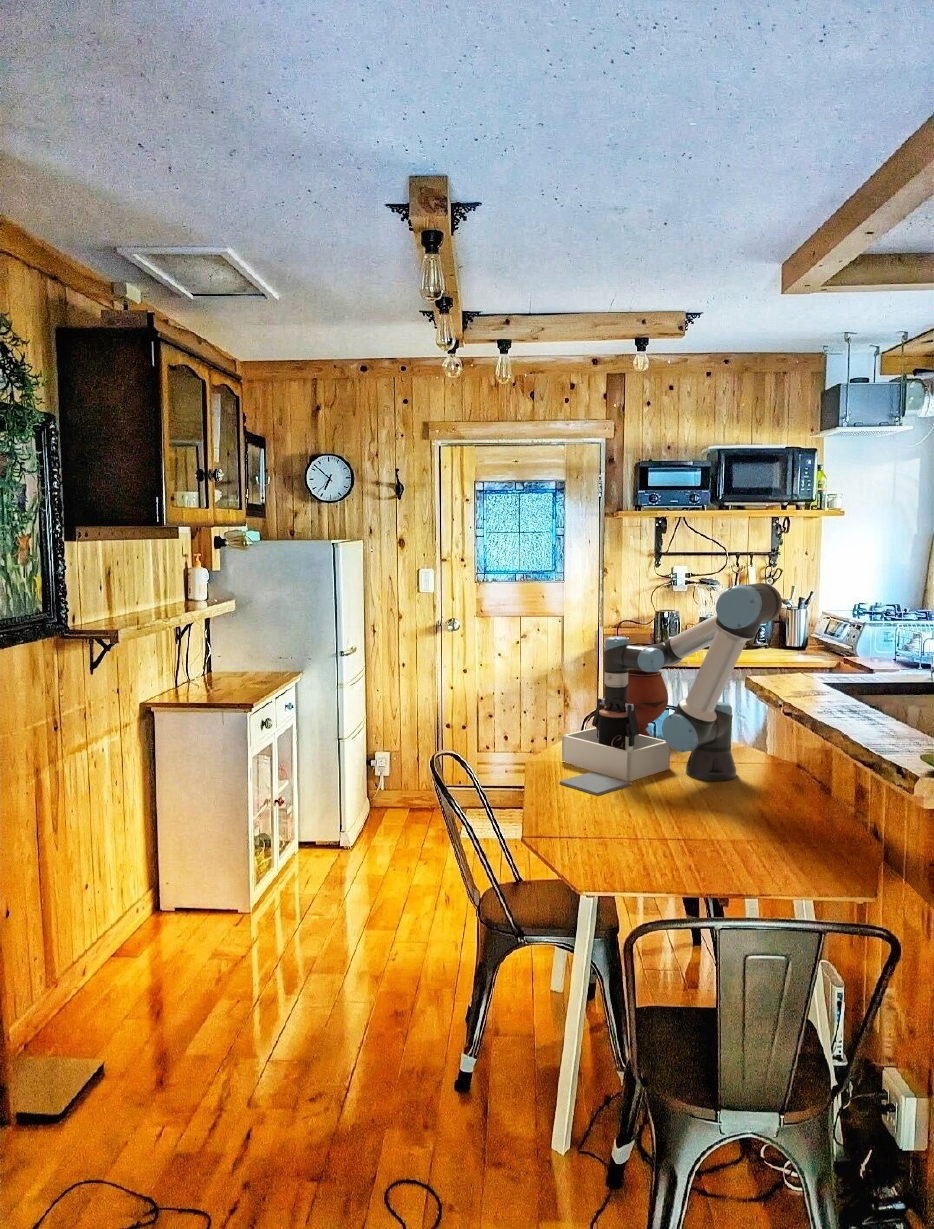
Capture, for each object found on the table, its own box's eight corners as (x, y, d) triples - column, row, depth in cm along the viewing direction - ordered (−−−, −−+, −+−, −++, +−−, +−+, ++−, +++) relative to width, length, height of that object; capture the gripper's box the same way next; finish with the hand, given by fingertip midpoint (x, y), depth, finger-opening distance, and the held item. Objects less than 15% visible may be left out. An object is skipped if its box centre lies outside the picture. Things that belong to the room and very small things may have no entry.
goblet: (676, 744, 310) (678, 674, 307) (625, 747, 306) (626, 677, 303) (653, 731, 329) (654, 665, 326) (605, 734, 325) (606, 667, 322)
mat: (630, 785, 264) (630, 782, 263) (597, 795, 254) (597, 792, 254) (592, 774, 275) (592, 771, 275) (559, 783, 265) (559, 781, 265)
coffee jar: (611, 772, 277) (612, 716, 275) (591, 763, 286) (592, 709, 284) (638, 767, 282) (639, 712, 280) (618, 759, 291) (618, 706, 289)
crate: (669, 769, 280) (670, 741, 279) (629, 781, 267) (629, 752, 266) (602, 751, 301) (602, 725, 300) (561, 762, 288) (562, 735, 287)
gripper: (581, 681, 287) (580, 747, 290) (637, 692, 270) (636, 761, 272) (596, 678, 292) (595, 743, 295) (652, 688, 275) (651, 757, 277)
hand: (615, 752), depth 284 cm, fingers closed on coffee jar, 11 cm apart
